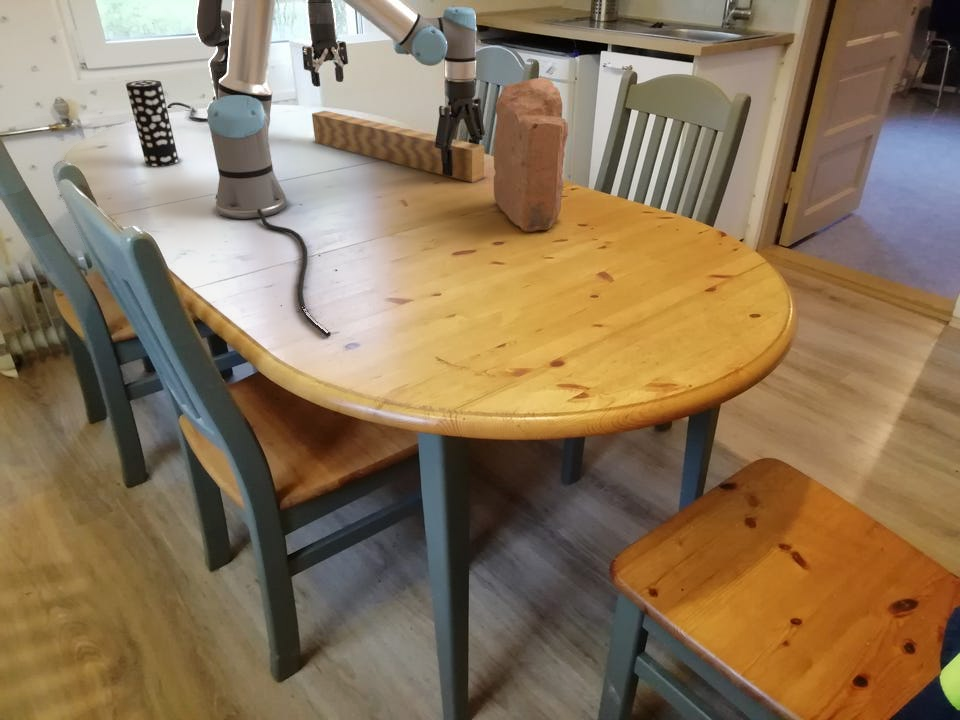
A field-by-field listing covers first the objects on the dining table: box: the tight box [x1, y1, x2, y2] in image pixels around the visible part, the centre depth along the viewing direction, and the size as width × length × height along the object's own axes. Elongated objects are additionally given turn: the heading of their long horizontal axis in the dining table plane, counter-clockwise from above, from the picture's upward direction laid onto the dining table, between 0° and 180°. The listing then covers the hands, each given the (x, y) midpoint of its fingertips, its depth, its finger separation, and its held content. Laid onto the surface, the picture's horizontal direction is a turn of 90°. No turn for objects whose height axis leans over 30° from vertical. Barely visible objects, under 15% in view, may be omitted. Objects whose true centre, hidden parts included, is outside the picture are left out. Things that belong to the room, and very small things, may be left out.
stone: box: [493, 77, 569, 232], centre depth 148 cm, size 22×11×28 cm, turn 18°
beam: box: [311, 110, 485, 183], centre depth 189 cm, size 59×5×8 cm, turn 53°
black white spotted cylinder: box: [125, 79, 179, 167], centre depth 181 cm, size 8×8×20 cm
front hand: (460, 169), depth 179 cm, fingers open, 10 cm apart
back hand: (328, 83), depth 195 cm, fingers open, 8 cm apart
